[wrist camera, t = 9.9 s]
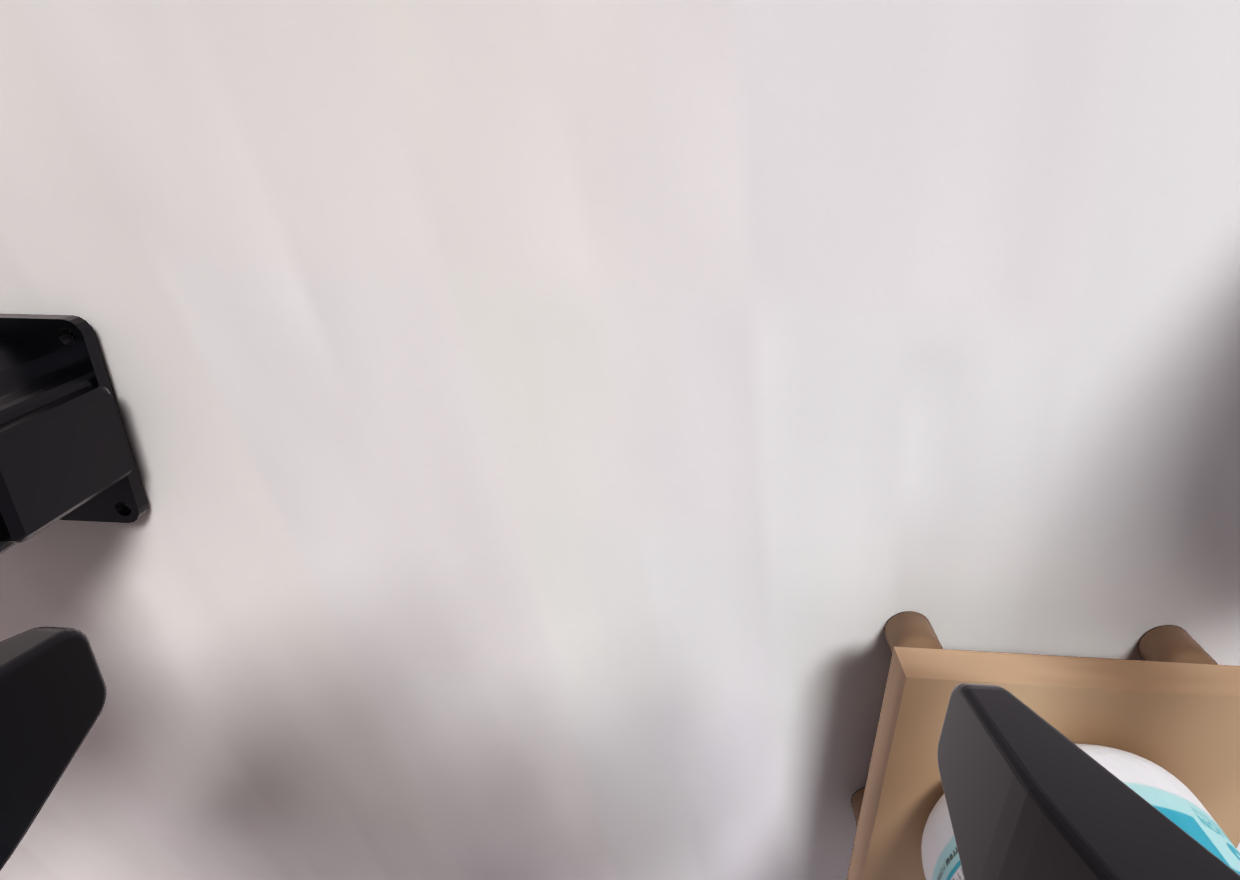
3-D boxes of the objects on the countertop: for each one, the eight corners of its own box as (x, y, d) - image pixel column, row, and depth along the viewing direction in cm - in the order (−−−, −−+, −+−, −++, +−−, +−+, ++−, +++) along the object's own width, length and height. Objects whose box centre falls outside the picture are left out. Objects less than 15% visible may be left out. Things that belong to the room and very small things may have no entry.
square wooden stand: (832, 821, 26) (853, 919, 23) (873, 596, 22) (906, 677, 19) (1120, 843, 25) (1183, 947, 22) (1219, 614, 21) (1314, 701, 18)
